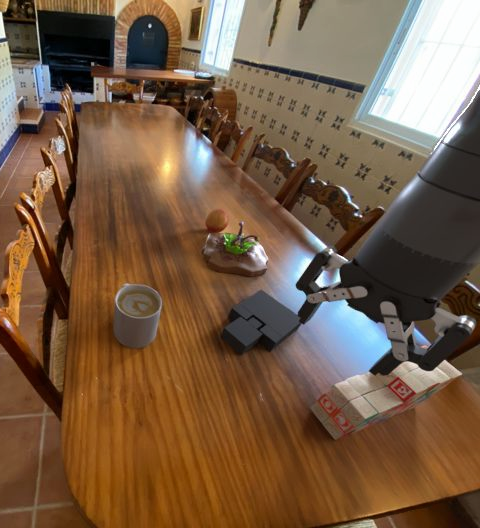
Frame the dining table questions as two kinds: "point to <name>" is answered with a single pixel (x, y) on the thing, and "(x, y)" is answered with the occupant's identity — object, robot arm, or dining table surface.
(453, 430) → the dining table surface
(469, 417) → the dining table surface
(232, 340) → the pad
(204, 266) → the dining table surface
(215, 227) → the fruit
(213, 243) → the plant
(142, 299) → the coffee mug
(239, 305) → the notch pad
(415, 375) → the stack of blocks
